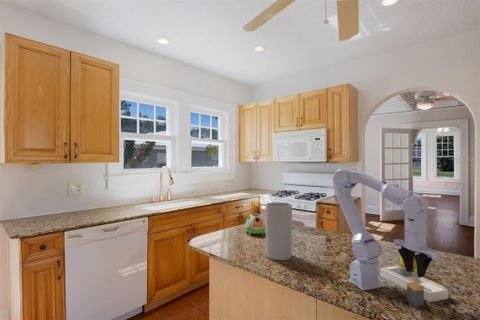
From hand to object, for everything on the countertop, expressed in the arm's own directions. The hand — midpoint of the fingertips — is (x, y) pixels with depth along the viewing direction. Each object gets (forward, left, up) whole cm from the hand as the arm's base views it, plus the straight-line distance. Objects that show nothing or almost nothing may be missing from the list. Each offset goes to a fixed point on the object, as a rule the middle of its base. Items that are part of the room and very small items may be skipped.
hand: (415, 274), depth 83 cm
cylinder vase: (-25, +50, -10) cm, 57 cm away
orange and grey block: (0, 0, -10) cm, 10 cm away
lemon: (+18, +18, -10) cm, 27 cm away
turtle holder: (-23, +91, -10) cm, 94 cm away
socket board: (+9, +9, -9) cm, 16 cm away
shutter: (+9, +13, -6) cm, 17 cm away
